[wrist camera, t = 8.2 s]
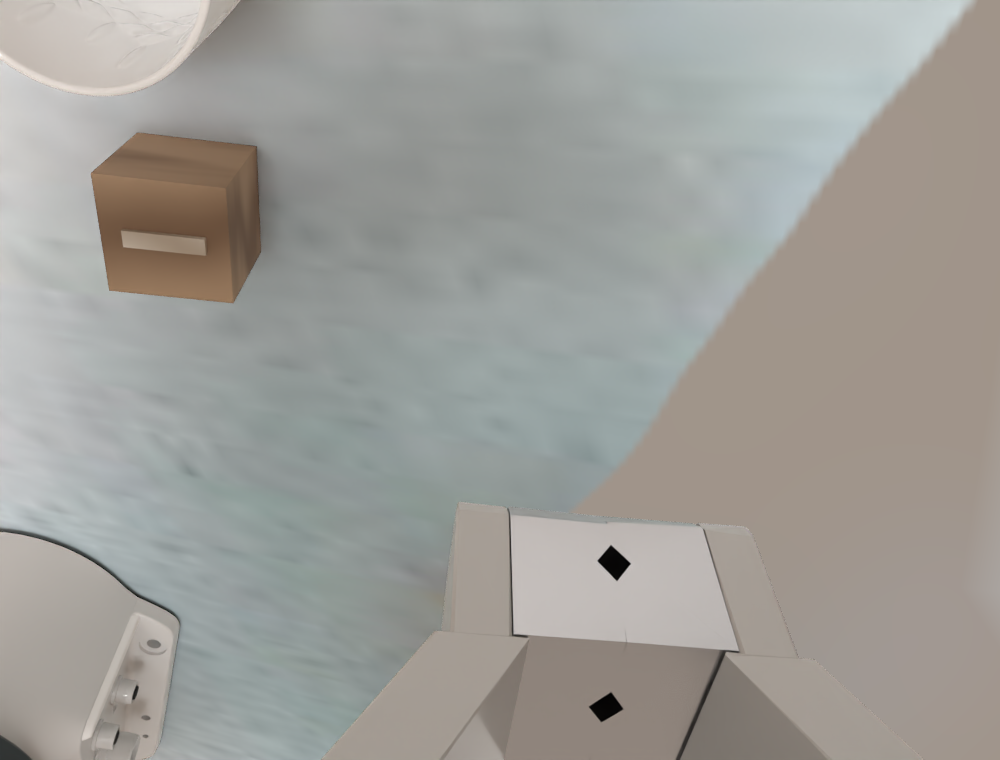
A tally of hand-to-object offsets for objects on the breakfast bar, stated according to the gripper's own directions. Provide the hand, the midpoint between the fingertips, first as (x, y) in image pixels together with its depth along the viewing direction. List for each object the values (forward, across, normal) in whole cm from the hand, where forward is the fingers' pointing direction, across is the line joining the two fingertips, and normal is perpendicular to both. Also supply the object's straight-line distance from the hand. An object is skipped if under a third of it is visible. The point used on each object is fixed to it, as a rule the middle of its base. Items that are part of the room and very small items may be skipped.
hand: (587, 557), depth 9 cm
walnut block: (+29, -13, -9) cm, 33 cm away
